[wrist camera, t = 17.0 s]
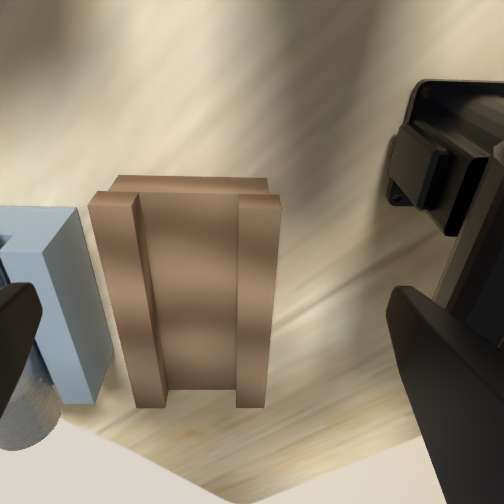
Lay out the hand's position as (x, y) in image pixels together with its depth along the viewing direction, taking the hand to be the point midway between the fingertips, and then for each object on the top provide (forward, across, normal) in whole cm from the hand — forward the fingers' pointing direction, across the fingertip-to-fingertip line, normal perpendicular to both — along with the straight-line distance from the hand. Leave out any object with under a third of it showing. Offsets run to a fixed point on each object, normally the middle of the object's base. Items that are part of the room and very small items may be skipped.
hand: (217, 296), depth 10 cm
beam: (+12, +2, +10) cm, 16 cm away
